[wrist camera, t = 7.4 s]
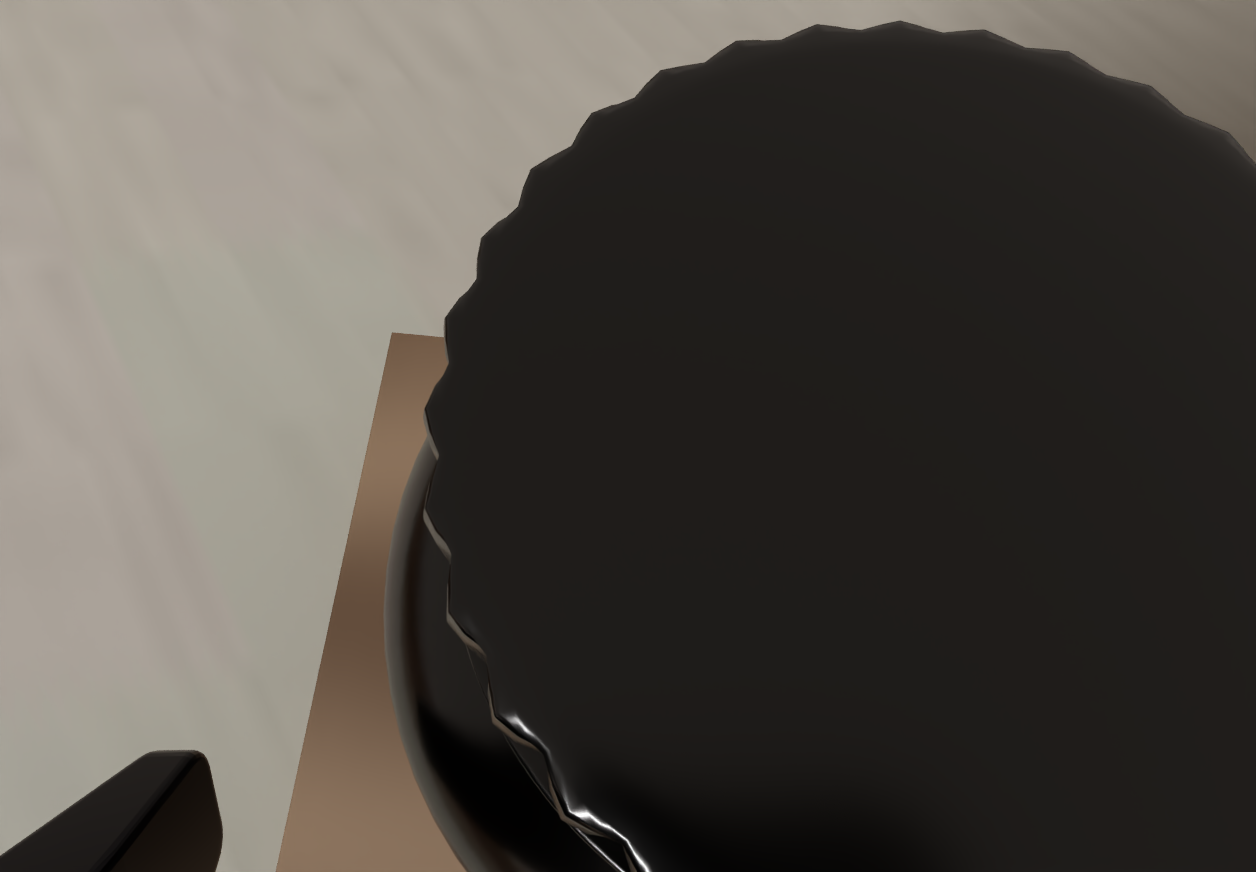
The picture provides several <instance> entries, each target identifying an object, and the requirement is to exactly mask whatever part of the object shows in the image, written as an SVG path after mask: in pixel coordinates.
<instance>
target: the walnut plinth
mask: <svg viewBox="0 0 1256 872" xmlns="http://www.w3.org/2000/svg"><path fill="white" fill-rule="evenodd" d="M447 366H448V362H447V359H446V356H445V346H444V337H434V336H423V335H413V334H402V333H392V335H391V339H390V344H389V349H388V353H387V358H386V363H385V367H384V372H383V377H382V381H381V386H380V390H379V395H378V400H377V404H376V409H375V414H374V418H373V423H372V428H371V432H370V437H369V442H368V446H367V451H366V455H365V460H364V465H363V469H362V474H361V479H360V483H359V488H358V493H357V497H356V502H355V506H354V511H353V516H352V520H351V525H350V530H349V534H348V539H347V544H346V548H345V553H344V557H343V562H342V567H341V571H340V576H339V581H338V585H337V590H336V595H335V599H334V604H333V608H332V613H331V618H330V622H329V627H328V632H327V636H326V641H325V646H324V650H323V655H322V659H321V664H320V669H319V673H318V678H317V683H316V687H315V692H314V697H313V701H312V706H311V710H310V715H309V720H308V724H307V729H306V734H305V738H304V743H303V748H302V752H301V757H300V761H299V766H298V771H297V775H296V780H295V785H294V789H293V794H292V799H291V803H290V808H289V812H288V817H287V822H286V826H285V831H284V836H283V840H282V845H281V850H280V854H279V859H278V863H277V868H276V872H466V871H465V869H464V868H463V867H462V865H461V864H460V863H459V861H458V860H457V858H456V857H455V855H454V853H453V852H452V850H451V848H450V847H449V845H448V843H447V842H446V840H445V838H444V836H443V835H442V833H441V831H440V830H439V828H438V826H437V825H436V823H435V821H434V820H433V817H432V815H431V813H430V811H429V809H428V807H427V804H426V802H425V800H424V798H423V796H422V794H421V791H420V789H419V787H418V785H417V783H416V781H415V778H414V775H413V773H412V770H411V767H410V764H409V761H408V758H407V755H406V752H405V749H404V746H403V744H402V741H401V738H400V734H399V729H398V725H397V721H396V717H395V713H394V708H393V704H392V700H391V696H390V688H389V681H388V673H387V666H386V659H385V643H384V614H383V613H384V597H385V582H386V569H387V563H388V556H389V550H390V544H391V538H392V532H393V528H394V524H395V521H396V517H397V513H398V509H399V506H400V502H401V498H402V494H403V492H404V489H405V486H406V484H407V481H408V478H409V476H410V473H411V470H412V468H413V465H414V462H415V460H416V458H417V455H418V453H419V451H420V449H421V447H422V445H423V443H424V441H425V439H426V437H427V432H426V429H425V425H424V421H423V414H424V408H425V406H426V404H427V402H428V400H429V397H430V395H431V393H432V391H433V389H434V387H435V385H436V384H437V382H438V381H439V380H440V379H441V377H442V376H443V374H444V372H445V370H446V368H447Z"/></svg>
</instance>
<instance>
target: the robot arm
mask: <svg viewBox="0 0 1256 872" xmlns="http://www.w3.org/2000/svg"><path fill="white" fill-rule="evenodd" d="M222 840H223V828H222V821H221V817H220V812H219V807H218V803H217V798H216V793H215V789H214V784H213V779H212V775H211V770H210V766H209V763H208V760H207V758H206V757H205V755H204V754H203V753H201V752H199V751H196V750H163V751H153V752H149V753H147V754H145V755H143V756H142V757H140V758H138V759H137V760H135V761H134V762H133V763H131V764H130V765H128V766H127V767H126V768H124V769H123V770H121V771H120V772H118V773H117V774H116V775H114V776H113V777H111V778H110V779H109V780H107V781H106V782H104V783H103V784H101V785H100V786H99V787H97V788H96V789H94V790H93V791H91V792H90V793H89V794H87V795H86V796H84V797H83V798H82V799H80V800H79V801H77V802H76V803H74V804H73V805H72V806H70V807H69V808H67V809H66V810H64V811H63V812H62V813H60V814H59V815H57V816H56V817H55V818H53V819H52V820H50V821H49V822H47V823H46V824H45V825H43V826H42V827H40V828H39V829H38V830H36V831H35V832H33V833H32V834H30V835H29V836H28V837H26V838H25V839H23V840H22V841H20V842H19V843H18V844H16V845H15V846H13V847H12V848H11V849H9V850H8V851H6V852H5V853H3V854H2V855H1V856H0V872H215V871H216V868H217V864H218V861H219V858H220V854H221V848H222Z"/></svg>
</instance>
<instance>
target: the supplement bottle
mask: <svg viewBox="0 0 1256 872" xmlns="http://www.w3.org/2000/svg"><path fill="white" fill-rule="evenodd" d="M444 346H445V356H446V359H447V362H448V366H447V368H446V370H445V372H444V374H443V376H442V377H441V379H440V380H439V381H438V382H437V384H436V385H435V387H434V389H433V391H432V393H431V395H430V397H429V400H428V402H427V404H426V406H425V408H424V414H423V421H424V425H425V429H426V432H427V437H426V439H425V441H424V443H423V445H422V447H421V449H420V451H419V453H418V455H417V458H416V460H415V462H414V465H413V468H412V470H411V473H410V476H409V478H408V481H407V484H406V486H405V489H404V492H403V494H402V498H401V502H400V506H399V509H398V513H397V517H396V521H395V524H394V528H393V532H392V538H391V544H390V550H389V556H388V563H387V569H386V582H385V597H384V613H383V614H384V643H385V659H386V666H387V673H388V681H389V688H390V696H391V700H392V704H393V708H394V713H395V717H396V721H397V725H398V729H399V734H400V738H401V741H402V744H403V746H404V749H405V752H406V755H407V758H408V761H409V764H410V767H411V770H412V773H413V775H414V778H415V781H416V783H417V785H418V787H419V789H420V791H421V794H422V796H423V798H424V800H425V802H426V804H427V807H428V809H429V811H430V813H431V815H432V817H433V820H434V821H435V823H436V825H437V826H438V828H439V830H440V831H441V833H442V835H443V836H444V838H445V840H446V842H447V843H448V845H449V847H450V848H451V850H452V852H453V853H454V855H455V857H456V858H457V860H458V861H459V863H460V864H461V865H462V867H463V868H464V869H465V871H466V872H1256V164H1255V163H1254V161H1253V160H1252V159H1251V158H1250V157H1249V156H1248V155H1247V154H1246V152H1245V150H1244V149H1243V148H1242V147H1241V145H1240V144H1239V143H1238V142H1237V141H1236V140H1235V139H1234V138H1233V137H1232V136H1231V134H1230V133H1229V132H1226V131H1224V130H1221V129H1219V128H1217V127H1214V126H1212V125H1209V124H1207V123H1204V122H1202V121H1199V120H1197V119H1194V118H1191V117H1189V116H1186V115H1184V114H1183V113H1182V112H1180V111H1179V110H1178V109H1177V108H1176V107H1174V106H1173V105H1172V104H1171V103H1170V102H1169V101H1168V100H1167V99H1166V98H1165V97H1164V96H1162V95H1161V94H1160V93H1159V92H1158V91H1156V90H1155V89H1154V88H1153V87H1151V86H1149V85H1145V84H1142V83H1138V82H1134V81H1130V80H1126V79H1121V78H1117V77H1112V76H1108V75H1105V74H1104V73H1102V72H1100V71H1099V70H1097V69H1095V68H1094V67H1092V66H1091V65H1089V64H1088V63H1087V62H1085V61H1084V60H1082V59H1080V58H1079V57H1077V56H1075V55H1074V54H1072V53H1070V52H1069V51H1060V50H1050V49H1037V48H1025V47H1023V46H1020V45H1018V44H1016V43H1014V42H1012V41H1010V40H1007V39H1005V38H1003V37H1001V36H998V35H996V34H994V33H991V32H989V31H987V30H967V31H956V32H946V33H942V32H938V31H935V30H931V29H927V28H924V27H922V26H918V25H915V24H911V23H907V22H903V21H896V22H891V23H887V24H882V25H878V26H874V27H871V28H867V29H863V30H855V29H847V28H841V27H836V26H827V25H819V24H816V25H814V26H811V27H809V28H806V29H804V30H801V31H799V32H797V33H795V34H793V35H790V36H788V37H786V38H784V39H782V40H766V41H761V40H742V41H735V42H734V43H732V44H730V45H729V46H727V47H726V48H724V49H723V50H721V51H720V52H718V53H717V54H716V55H714V56H713V57H712V58H710V59H709V60H708V61H706V62H705V63H698V64H692V65H685V66H680V67H675V68H670V69H665V70H660V71H659V72H658V73H657V74H656V75H655V76H654V77H653V78H652V79H651V80H650V81H649V82H648V83H647V84H646V85H645V86H644V87H643V88H642V90H641V91H640V92H639V93H638V94H637V95H636V97H635V98H633V99H630V100H628V101H625V102H622V103H620V104H616V105H611V106H609V107H606V108H603V109H601V110H598V111H596V112H593V113H591V115H590V116H589V118H588V119H587V120H586V122H585V123H584V125H583V126H582V127H581V129H580V131H579V133H578V135H577V136H576V138H575V140H574V142H573V144H572V146H570V147H568V148H567V149H565V150H563V151H561V152H559V153H557V154H555V155H553V156H551V157H550V158H548V159H546V160H545V161H543V162H542V163H540V164H538V165H537V166H535V167H533V168H532V169H531V170H530V172H529V175H528V177H527V180H526V182H525V184H524V187H523V190H522V194H521V198H520V201H519V205H518V207H517V208H516V209H515V210H514V211H513V212H512V213H511V214H509V215H508V216H507V217H506V218H504V219H502V220H501V221H499V222H498V223H497V224H496V225H494V226H493V227H492V228H491V229H490V230H489V231H488V232H487V233H486V234H485V235H484V236H483V237H482V238H481V241H480V246H479V252H478V257H477V279H476V280H475V282H474V283H473V285H472V286H471V287H470V289H469V290H468V291H467V292H466V293H465V294H464V295H463V296H461V297H460V298H459V299H458V301H457V302H456V304H455V305H454V306H453V308H452V309H451V310H450V312H449V313H448V315H447V316H446V317H445V320H444Z"/></svg>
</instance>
